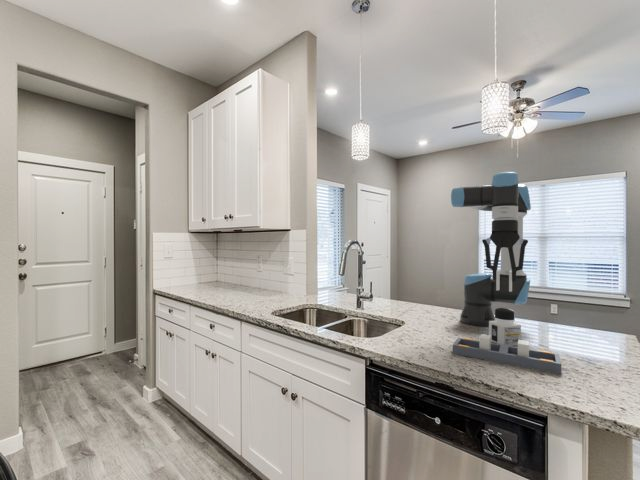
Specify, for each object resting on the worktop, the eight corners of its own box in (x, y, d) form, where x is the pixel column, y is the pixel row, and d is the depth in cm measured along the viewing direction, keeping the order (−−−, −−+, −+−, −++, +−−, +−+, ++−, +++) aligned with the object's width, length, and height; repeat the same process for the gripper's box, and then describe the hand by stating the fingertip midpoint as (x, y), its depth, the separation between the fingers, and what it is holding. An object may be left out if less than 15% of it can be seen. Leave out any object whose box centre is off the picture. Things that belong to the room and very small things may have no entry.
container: (504, 346, 118) (504, 311, 118) (488, 340, 125) (488, 307, 125) (521, 345, 120) (521, 310, 120) (504, 338, 127) (504, 306, 127)
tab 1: (481, 348, 112) (481, 333, 112) (490, 349, 110) (491, 335, 110) (479, 352, 108) (479, 337, 108) (489, 354, 106) (489, 339, 106)
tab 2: (518, 354, 106) (518, 339, 106) (528, 356, 104) (529, 341, 104) (517, 359, 102) (517, 343, 102) (528, 361, 100) (528, 345, 100)
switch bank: (458, 345, 119) (458, 336, 119) (558, 363, 102) (559, 353, 102) (452, 353, 110) (452, 344, 110) (561, 374, 94) (561, 363, 94)
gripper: (476, 219, 107) (475, 289, 107) (533, 218, 98) (533, 294, 98) (479, 221, 114) (479, 287, 114) (533, 219, 105) (533, 291, 105)
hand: (504, 290), depth 106 cm, fingers open, 3 cm apart
